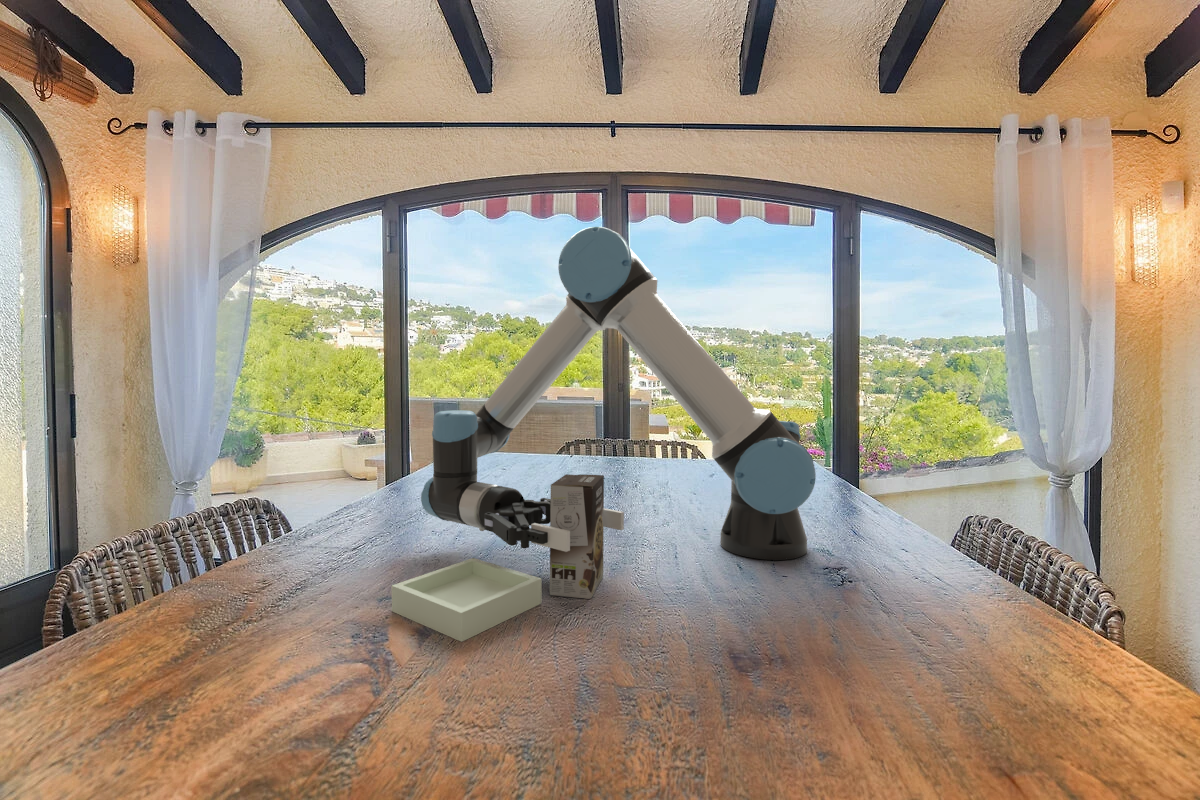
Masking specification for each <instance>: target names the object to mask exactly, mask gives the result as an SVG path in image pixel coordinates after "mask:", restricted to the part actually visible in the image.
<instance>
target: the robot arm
mask: <svg viewBox="0 0 1200 800" xmlns="http://www.w3.org/2000/svg"><path fill="white" fill-rule="evenodd" d="M558 275H559V278H560V281H561V283H562V285H563V287H564V288H565V290H566V292H567V293H568V294H566V296H565V297H566V298H565V300H566V302H565V303H566V304H565V305H564V307H563V308H562V310H561V311H560V312H559V313H558V314H557V315H556V317H554V319H553V320H552V321H551V322H550V324H549V325H548V327H546V329H545V330H544V331H543V333H542V334H541V335H539V338H537V340H536V341H534V343H533V344H532V346H531V347H530V348H529V349H528V351H526V353H525V354H524V355H523V357H522V358H521V359H520V360H519V361H518V363H517V364H516V365H515V366H514V368H512V370H511V371H510V373H508V375H507V376H506V377H505V378H504V379H503V380H502V381H501V383H500V385H498V387H497V388H496V389H495V390H494V391H493V393H492V394H491V395H490V396H489V398H488V399H487V400H486V401H485V403H484V404H483V405H482V406H481V408H480V409H479V410H478V411H477V412H476V413H475V412H474V411H472V410H465V409H464V410H460V409H459V410H457V409H456V410H455V409H453V410H440V411H438V412H436V413H435V414H434V415H433V424H432V425H433V426H432V427H433V428H432V433H431V436H432V456H433V457H432V459H433V463H432V464H433V467H432V468H433V475H432V477H431V478H429V479H428V480H427V481H426V482H425V484H424V486H423V489H422V491H421V493H420V502H421V505H422V508H423V509H424V510H425V512H426V513H427V514H429V515H431V516H432V517H436V518H438V519H440V520H442V521H446V522H453V523H457V524H462V525H465V526H469V527H473V528H477V529H479V531H481V532H484V531H488V532H490V533H493V534H494V535H496V536H497V537H498V538H499V539H501V540H502V541H503V542H505V543H506V544H507V545H508V546H513V547H514V546H516V545H518V542H520V548H521V549H530V543H531V544H534V545H538V546H542V547H547V548H549V549H550V548H553V549H557V550H561V551H565V552H567V551H570V531H568V530H564V529H559V528H555V527H550V525H548V524H550V500H551V498H547V497H542V498H540V499H539V501H538V500H537V501H536V500H534V499H525V498H524V496H523V495H522V492H520V491H519V490H518V489H515V488H512V487H506V486H502V485H498V484H493V483H486V482H480V481H478V458H481V457H483V456H487V455H489V454H493V453H496V452H498V451H499V450H501V449H502V448H503V447H505V446H506V444H508V442H509V440H510V437H511V436H510V435H511V433H512V432H513V430H514V429H515V428H516V427H517V425H519V423H520V422H521V421H522V420H523V418H524V417H525V416H526V415H527V414H528V412H530V410H531V409H532V408H533V407H534V405H535V404H537V402H538V401H539V400H540V398H541V397H542V396H543V395H544V394H545V393H546V392H547V390H548V389H549V388H550V387H551V386H552V385H553V383H554V382H555V380H557V379H558V377H559V376H560V375H561V374H562V373H563V372H564V371H565V370H566V368H568V366H569V365H570V363H572V361H573V360H574V359H575V357H577V355H579V353H580V352H581V351H582V349H584V347H585V346H586V345H587V343H589V341H590V340H591V339H592V338H593V337H594V335H595V334H596V333H597V332H598V331H605V330H606V329H614V330H616V331H617V332H618V333H619V334H620V335H621V336H622V338H623V339H624V340H625V341H626V343H627V344H629V346H630V347H631V348H632V349H633V351H634V352H635V353H636V354H637V355H638V356H639V358H640V359H641V360H642V362H643V363H645V365H646V366H647V368H649V369H650V371H651V372H652V373H653V374H654V375H655V377H656V378H657V379H658V380H659V381H660V383H661V384H662V385H663V386H664V387H665V389H666V390H667V391H668V392H669V393H670V394H671V396H673V398H674V399H675V400H676V401H677V403H678V404H679V405H680V406H681V407H682V408H683V410H685V412H686V413H687V415H689V417H690V418H691V419H692V421H693V422H694V423H695V424H696V425H697V426H698V428H699V429H700V430H701V431H702V432H703V433H704V434H705V436H706V437H707V438H708V439H709V441H711V444H712V451H711V458H712V460H714V461H715V462H716V463H717V464H718V467H720V468H721V470H722V471H723V472H724V473H725V474H726V476H728V478H729V480H731V483H730V484H731V487H730V491H731V492H730V494H731V495H730V505H729V508H728V511H727V513H726V516H725V518H724V522H723V523H722V528H721V529H720V539H719V541H720V546H721V547H722V549H724V550H726V551H728V552H729V553H732V554H735V555H739V556H742V557H746V558H749V559H758V560H769V561H770V560H771V561H781V560H786V561H787V560H793V559H797V558H801V557H803V556H805V555H806V554H807V552H808V537H807V534H806V531H805V528H804V524H803V521H802V518H801V514H800V511H799V508H800V507H801V506H802V505H803V504H805V502H806V501H808V499H809V498H810V496H811V495H812V493H813V490H814V489H815V484H816V477H817V475H816V468H815V464H814V463H815V462H814V459H813V457H812V455H811V454H810V452H809V451H808V450H807V449H806V448H805V447H804V445H802V444H800V440H801V434H800V433H801V432H800V426H799V424H798V423H797V422H794V421H786V420H779V419H778V418H777V417H776V415H775V414H774V413H773V412H772V411H771V410H769V409H761V408H757V407H755V406H754V405H753V404H752V403H751V402H750V400H749V399H748V398H747V397H746V396H745V395H744V394H743V393H742V391H741V390H740V389H739V388H738V386H736V384H735V383H734V381H732V379H730V378H729V376H728V375H727V374H726V372H724V371H723V369H722V368H721V366H719V365H718V363H717V362H716V361H715V360H714V359H713V358H712V356H711V355H710V354H709V353H708V352H707V351H706V350H705V348H704V347H703V345H701V343H700V342H699V341H698V340H697V339H696V338H695V337H694V336H693V334H692V333H691V332H690V330H689V329H688V328H687V326H685V325H684V324H683V323H682V321H681V320H680V319H679V318H678V317H677V316H676V315H675V314H674V312H673V311H672V310H671V309H670V308H669V306H668V305H667V304H666V303H665V302H664V300H662V298H661V297H660V296H659V295H658V291H657V290H658V279H657V277H656V276H654V274H653V272H651V271H650V269H649V268H648V267H647V266H646V265H645V264H644V262H642V260H641V259H640V257H638V255H637V254H636V253H635V252H634V251H633V249H632V248H630V246H629V244H628V242H627V240H626V239H625V237H623V236H622V235H621V234H620V233H618V232H617V231H614V230H613V229H610V228H607V227H603V226H592V227H585V228H584V229H581V230H579V231H577V232H576V233H574V234H573V235H572V236H571V237H570V238H569V239H568V240H567V241H566V242H565V244H564V246H562V249H561V251H560V253H559V259H558ZM544 516H545V518H544ZM624 516H625V511H620V510H616V509H610V508H605V507H604V528H608V529H613V530H618V531H623V530H625V529H624V527H625V525H624V524H625V521H624V518H625V517H624ZM530 526H531V527H530Z"/></svg>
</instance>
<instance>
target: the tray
mask: <svg viewBox="0 0 1200 800" xmlns="http://www.w3.org/2000/svg"><path fill="white" fill-rule="evenodd" d="M542 584H543V583H542V578H540V577H538V576H535V575H531V574H528V573H524V572H521V571H518V570H514V569H512V568H509V567H508V568H507V567H504V566H501V565H497V564H496V563H490V562H488V561H486V560H485V561H484V560H481V559H478V558H475V557H471V558H469V559H466V560H462V561H460V562H457V563H453V564H451V565H447V566H445V567H442V568H439V569H437V570H433V571H430V572H428V573H425V574H421V575H419V576H416V577H412V578H410V579H406V580H404V581H401V582H398V583H394V584H393V585H391V612H392V613H394V614H397V615H399V616H402V617H404V618H406V619H408V620H410V621H413V622H415V623H417V624H420V625H422V626H425V627H426V628H429V629H431V630H434V631H436V632H439V633H441V634H443V635H445V636H448V637H449V638H451V639H454V640H456V641H459V642H461V643H462V642H464V641H467V640H468V639H470V638H473V637H475V636H476V635H478V634H480V633H481V634H482V632H485V631H487V630H490V629H491V628H493V627H495V626H498V625H500V624H502V623H503V622H506V621H508V620H510V619H512V618H514V617H517V616H518V615H521V614H522V613H525V612H526V611H528V610H530V609H533V608H536V607H537V606H540V605H542V600H543V599H542V598H543V597H542V595H543V594H542V589H543V588H542V587H543V586H542Z"/></svg>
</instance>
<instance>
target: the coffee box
mask: <svg viewBox="0 0 1200 800" xmlns="http://www.w3.org/2000/svg"><path fill="white" fill-rule="evenodd" d="M604 486H605V475H603V474H564V475H563V476H561V477H560V478H559V479H557V480H556V481H554V482H552V483H551V484H550V499H551V500H550V523H549V524H550V525H549V526H550V527H555V528H559V529H564V530H568V531H570V551H567V552H565V551H561V550H557V549H553V548H549V595H550V596H557V597H566V598H567V597H568V598H577V599H587V600H589V599H590V600H591V599H592V597H593V596H594V593H595V592H596V591H597V589H598V587H599V585H600V583H601V581H602V579H604V534H605V533H604V531H605V529H604V528H605V527H604V508H605V507H604V506H605V505H604V504H605V499H604V497H605V496H604V495H605V487H604Z"/></svg>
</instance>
